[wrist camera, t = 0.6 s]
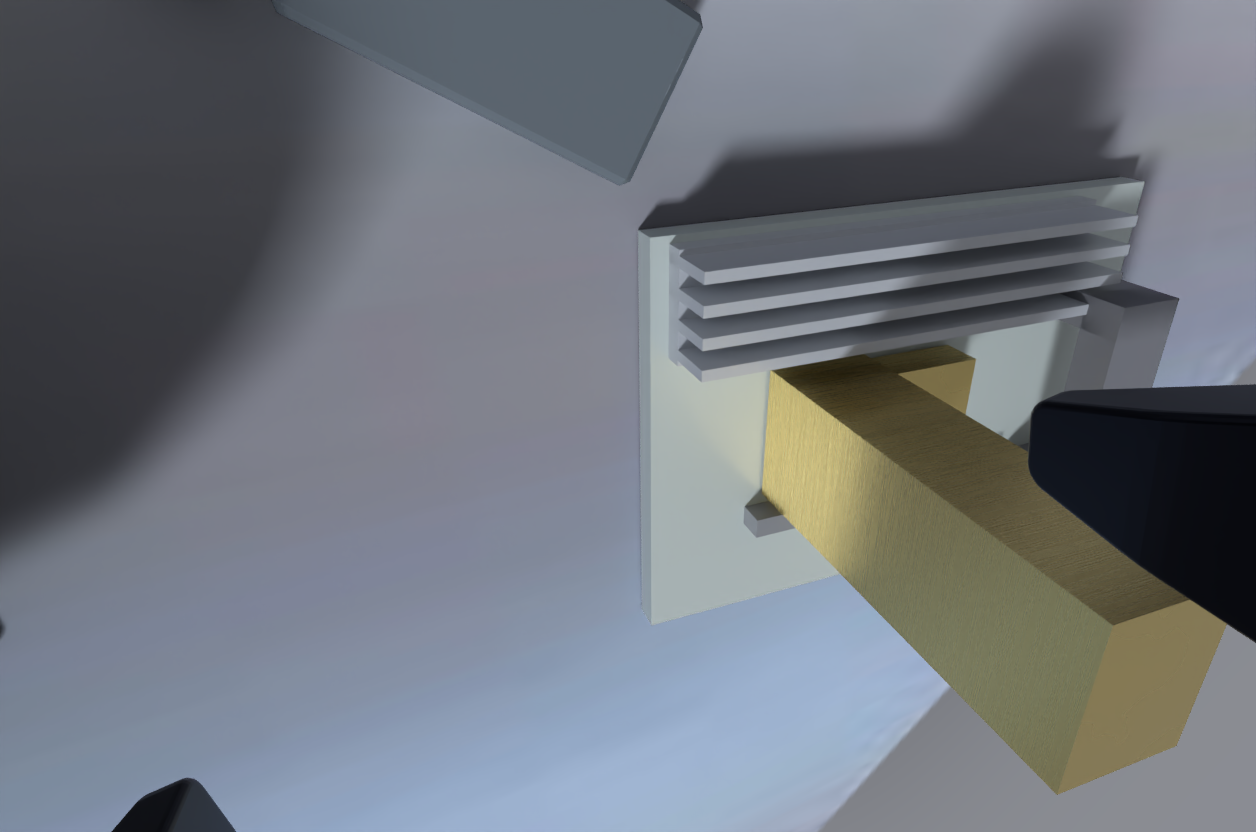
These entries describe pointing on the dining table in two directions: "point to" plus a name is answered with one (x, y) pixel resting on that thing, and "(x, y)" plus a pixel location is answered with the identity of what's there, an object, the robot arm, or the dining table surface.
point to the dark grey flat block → (530, 63)
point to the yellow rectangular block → (983, 563)
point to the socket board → (860, 348)
